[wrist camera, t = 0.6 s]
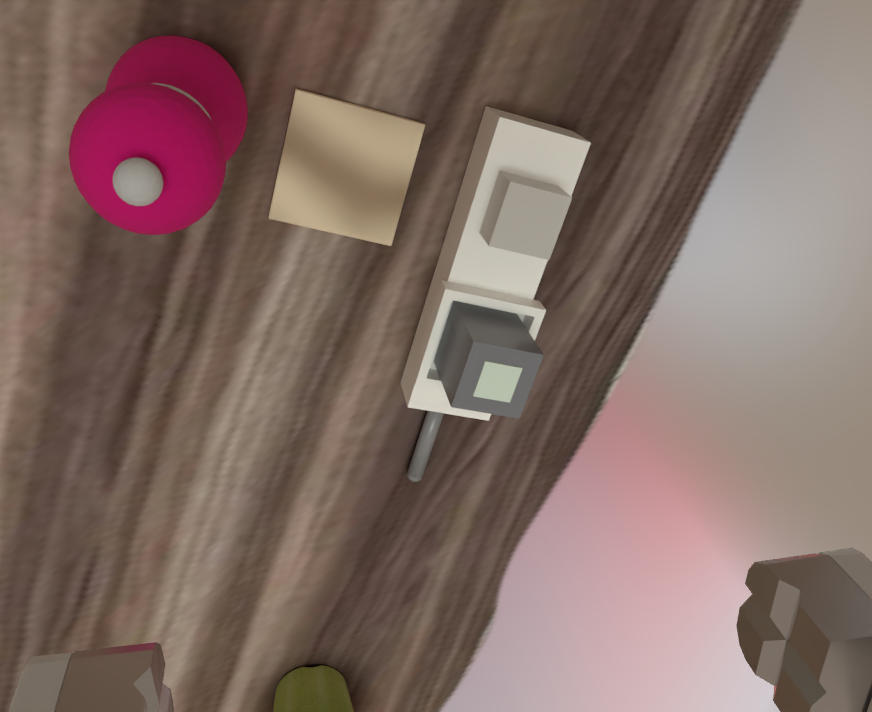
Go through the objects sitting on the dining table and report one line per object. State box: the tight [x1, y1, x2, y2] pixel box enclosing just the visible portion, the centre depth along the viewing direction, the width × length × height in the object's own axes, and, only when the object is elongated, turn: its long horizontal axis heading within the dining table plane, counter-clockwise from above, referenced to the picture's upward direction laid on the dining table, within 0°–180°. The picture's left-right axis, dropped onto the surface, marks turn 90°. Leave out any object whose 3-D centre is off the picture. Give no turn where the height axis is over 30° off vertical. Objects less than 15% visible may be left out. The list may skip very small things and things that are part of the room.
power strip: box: [400, 106, 591, 482], centre depth 54 cm, size 28×7×6 cm, turn 163°
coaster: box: [268, 88, 425, 246], centre depth 50 cm, size 8×8×1 cm
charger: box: [434, 301, 544, 419], centre depth 51 cm, size 4×4×6 cm
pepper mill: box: [69, 36, 248, 235], centre depth 38 cm, size 7×7×20 cm
